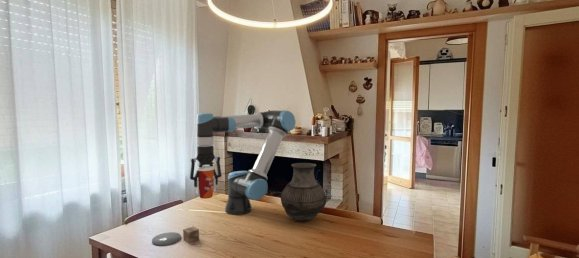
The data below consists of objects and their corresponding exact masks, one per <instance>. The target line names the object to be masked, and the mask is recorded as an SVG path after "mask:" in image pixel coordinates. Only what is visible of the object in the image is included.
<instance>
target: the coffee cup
mask: <svg viewBox="0 0 579 258" xmlns="http://www.w3.org/2000/svg"><path fill="white" fill-rule="evenodd" d="M197 168H198V169H196V171H197V170H198V171H199V176H198V180H199V194H198V195H199V198H200V199H202V200H203V199H205V200H206V199H211V198H213V196H214V195H213V194H214V191H213V178H215V177H214V169H215V166H214V165H213V166H210V165H203V166H202V167H198V166H197Z"/></svg>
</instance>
